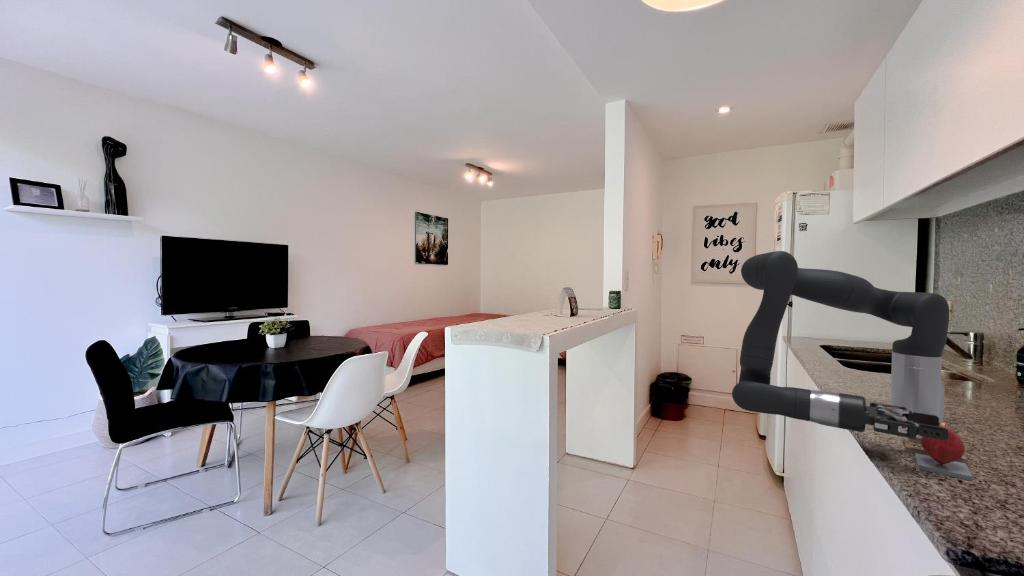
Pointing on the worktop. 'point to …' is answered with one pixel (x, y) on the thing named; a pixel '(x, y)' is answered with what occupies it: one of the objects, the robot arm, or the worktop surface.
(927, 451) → the onion
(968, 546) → the worktop surface
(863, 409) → the robot arm
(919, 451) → the square wooden frame
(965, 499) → the worktop surface
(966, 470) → the coaster
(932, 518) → the worktop surface
